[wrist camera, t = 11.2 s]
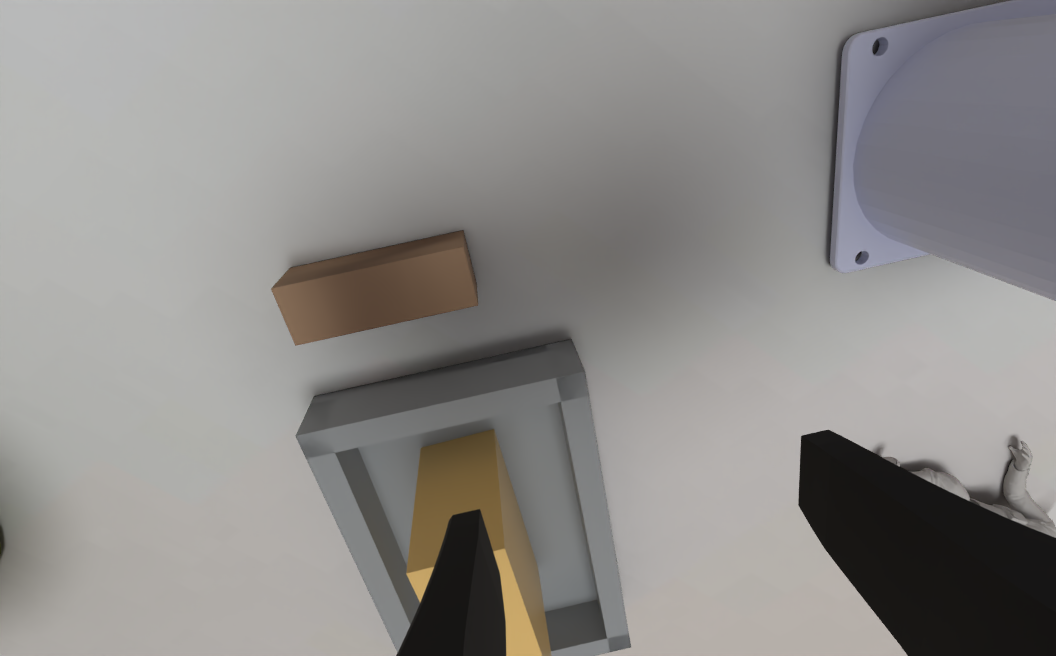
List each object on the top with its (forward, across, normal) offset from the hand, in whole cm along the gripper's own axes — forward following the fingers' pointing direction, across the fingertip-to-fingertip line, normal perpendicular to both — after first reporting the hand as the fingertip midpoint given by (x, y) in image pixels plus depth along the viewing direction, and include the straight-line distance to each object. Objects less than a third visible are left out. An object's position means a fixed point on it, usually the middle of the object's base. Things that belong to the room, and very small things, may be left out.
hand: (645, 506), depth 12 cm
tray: (+9, +5, +8) cm, 13 cm away
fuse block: (+9, +5, +7) cm, 13 cm away
